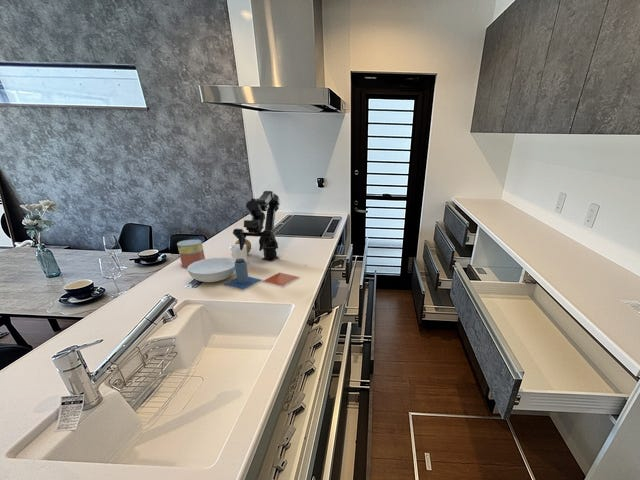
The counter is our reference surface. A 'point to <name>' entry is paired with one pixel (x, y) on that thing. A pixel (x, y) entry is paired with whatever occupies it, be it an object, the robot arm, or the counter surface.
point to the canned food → (190, 251)
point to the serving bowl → (212, 269)
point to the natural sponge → (246, 245)
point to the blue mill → (241, 271)
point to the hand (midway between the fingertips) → (250, 250)
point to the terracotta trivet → (280, 279)
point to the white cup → (239, 252)
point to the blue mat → (242, 286)
